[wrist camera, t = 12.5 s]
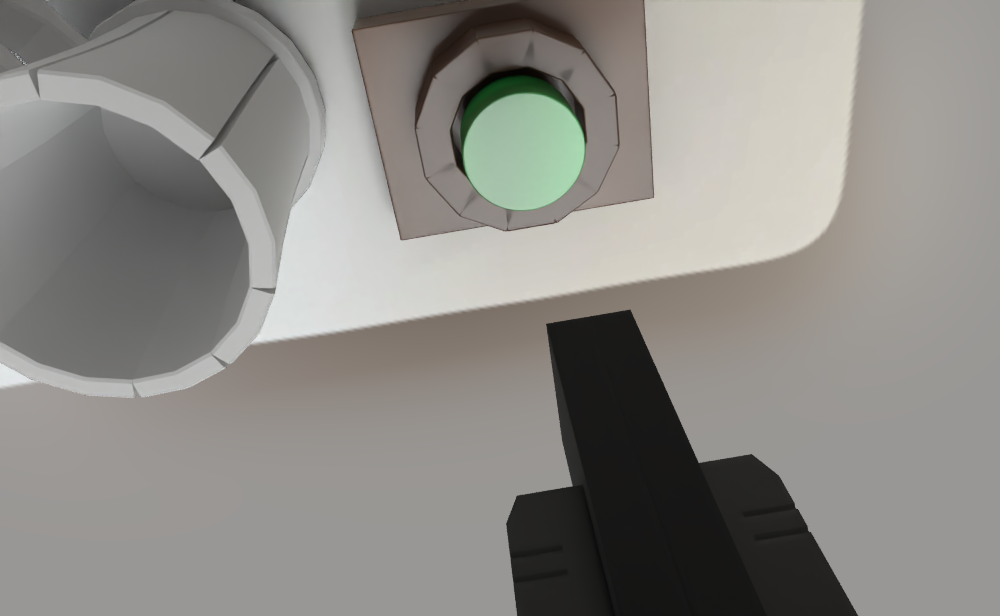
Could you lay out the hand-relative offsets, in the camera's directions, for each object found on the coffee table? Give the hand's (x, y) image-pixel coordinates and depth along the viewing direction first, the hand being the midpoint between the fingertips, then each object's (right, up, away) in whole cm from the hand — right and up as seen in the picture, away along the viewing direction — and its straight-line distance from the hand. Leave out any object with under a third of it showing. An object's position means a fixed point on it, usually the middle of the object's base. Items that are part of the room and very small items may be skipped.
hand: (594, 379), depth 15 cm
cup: (-13, +9, +15) cm, 22 cm away
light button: (-1, +7, +13) cm, 15 cm away
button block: (-1, +9, +16) cm, 18 cm away
